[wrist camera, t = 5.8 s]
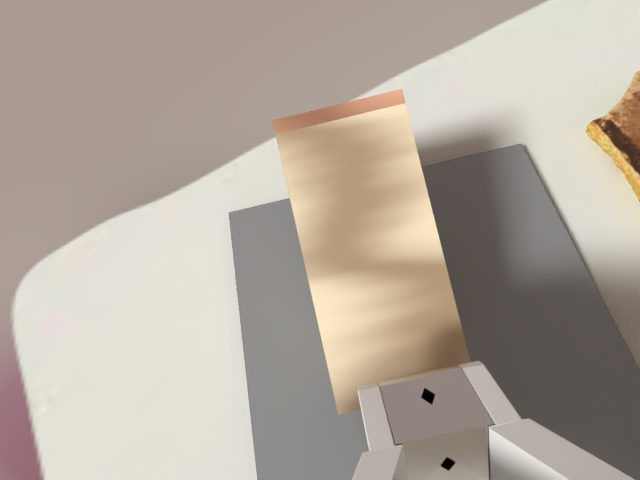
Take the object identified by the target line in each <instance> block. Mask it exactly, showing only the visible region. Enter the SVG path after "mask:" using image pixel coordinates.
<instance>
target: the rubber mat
mask: <svg viewBox="0 0 640 480" xmlns="http://www.w3.org/2000/svg"><path fill="white" fill-rule="evenodd" d="M422 171H423V175H424V179H425V183H426V187H427V191H428V195H429V199H430V203H431V207H432V211H433V215H434V219H435V223H436V227H437V231H438V235H439V239H440V243H441V247H442V251H443V255H444V259H445V263H446V267H447V271H448V275H449V279H450V283H451V287H452V291H453V295H454V299H455V303H456V307H457V311H458V315H459V319H460V323H461V327H462V330H463V334H464V338H465V342H466V346H467V350H468V354H469V358H470V362H475V361H480V362H482V363H483V364H484V365H485V367H486V368H487V370H488V371H489V373H490V374H491V375H492V377H493V378H494V380H495V381H496V383H497V384H498V385H499V387H500V388H501V390H502V391H503V393H504V394H505V396H506V397H507V398H508V400H509V401H510V403H511V404H512V406H513V407H514V408H515V410H516V411H517V413H518V414H519V416H520V417H521V419H528V418H530V419H531V420H533V421H535V422H537V423H538V424H540V425H542V426H543V427H545V428H547V429H549V430H550V431H552V432H554V433H555V434H557V435H559V436H561V437H562V438H564V439H566V440H568V441H569V442H571V443H573V444H574V445H576V446H578V447H580V448H581V449H583V450H585V451H587V452H588V453H590V454H592V455H593V456H595V457H597V458H599V459H600V460H602V461H604V462H605V463H607V464H609V465H611V466H612V467H614V468H616V469H618V470H619V471H621V472H623V473H624V474H626V475H628V476H630V477H631V478H633V479H635V480H640V371H639V369H638V367H637V365H636V363H635V361H634V359H633V357H632V355H631V353H630V351H629V349H628V348H627V346H626V344H625V342H624V340H623V338H622V336H621V334H620V332H619V330H618V328H617V326H616V324H615V323H614V321H613V319H612V317H611V315H610V313H609V311H608V309H607V307H606V305H605V303H604V301H603V300H602V298H601V296H600V294H599V292H598V290H597V288H596V286H595V284H594V282H593V280H592V278H591V276H590V275H589V273H588V271H587V269H586V267H585V265H584V263H583V261H582V259H581V257H580V255H579V253H578V251H577V250H576V248H575V246H574V244H573V242H572V240H571V238H570V236H569V234H568V232H567V230H566V228H565V226H564V225H563V223H562V221H561V219H560V217H559V215H558V213H557V211H556V209H555V207H554V205H553V203H552V202H551V200H550V198H549V196H548V194H547V192H546V190H545V188H544V186H543V184H542V182H541V180H540V178H539V177H538V175H537V173H536V171H535V169H534V167H533V165H532V163H531V161H530V159H529V157H528V155H527V153H526V152H525V150H524V148H523V146H522V144H517V145H513V146H509V147H505V148H501V149H496V150H492V151H488V152H484V153H479V154H475V155H471V156H467V157H462V158H458V159H454V160H450V161H445V162H441V163H437V164H433V165H428V166H424V167H422ZM229 220H230V229H231V238H232V248H233V257H234V266H235V276H236V285H237V294H238V303H239V313H240V322H241V331H242V341H243V350H244V359H245V368H246V378H247V387H248V396H249V406H250V415H251V424H252V433H253V443H254V452H255V461H256V471H257V480H352V478H353V475H354V473H355V470H356V468H357V465H358V463H359V460H360V458H361V455H362V453H363V452H367V451H369V448H368V443H367V438H366V432H365V427H364V422H363V417H362V412H361V410H360V411H355V412H350V413H345V414H341V415H338V411H337V407H336V402H335V398H334V393H333V389H332V384H331V380H330V375H329V371H328V366H327V362H326V357H325V353H324V348H323V344H322V340H321V335H320V331H319V326H318V322H317V317H316V313H315V308H314V304H313V299H312V295H311V290H310V286H309V281H308V277H307V273H306V268H305V264H304V259H303V255H302V250H301V246H300V241H299V237H298V232H297V228H296V223H295V219H294V214H293V210H292V206H291V201H290V198H289V199H284V200H280V201H276V202H272V203H267V204H263V205H259V206H255V207H250V208H246V209H242V210H238V211H233V212H229Z"/></svg>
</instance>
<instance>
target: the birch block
mask: <svg viewBox="0 0 640 480" xmlns="http://www.w3.org/2000/svg"><path fill="white" fill-rule="evenodd" d="M273 125H274V130H275V134H276V139H277V143H278V147H279V152H280V156H281V161H282V165H283V170H284V174H285V179H286V183H287V188H288V192H289V197H290V201H291V206H292V210H293V214H294V219H295V223H296V228H297V232H298V237H299V241H300V246H301V250H302V255H303V259H304V264H305V268H306V273H307V277H308V281H309V286H310V290H311V295H312V299H313V304H314V308H315V313H316V317H317V322H318V326H319V331H320V335H321V340H322V344H323V348H324V353H325V357H326V362H327V366H328V371H329V375H330V380H331V384H332V389H333V393H334V398H335V402H336V407H337V411H338V415H341V414H345V413H350V412H355V411H360V410H361V407H360V402H359V397H358V389H357V386H362V385H367V384H372V383H378V382H381V381H386V380H392V379H397V378H402V377H408V376H413V375H417V374H420V373H425V372H429V371H434V370H438V369H443V368H447V367H451V366H456V365H457V366H458V365H461V364H466V363H470V358H469V354H468V350H467V346H466V342H465V338H464V334H463V330H462V327H461V323H460V319H459V315H458V311H457V307H456V303H455V299H454V295H453V291H452V287H451V283H450V279H449V275H448V271H447V267H446V263H445V259H444V255H443V251H442V247H441V243H440V239H439V235H438V231H437V227H436V223H435V219H434V215H433V211H432V207H431V203H430V199H429V195H428V191H427V187H426V183H425V179H424V175H423V171H422V167H421V163H420V159H419V155H418V151H417V147H416V143H415V139H414V136H413V132H412V128H411V124H410V120H409V116H408V112H407V108H406V104H405V100H404V96H403V92H402V89H400V90H396V91H392V92H388V93H384V94H380V95H375V96H371V97H367V98H363V99H359V100H355V101H351V102H347V103H343V104H339V105H335V106H331V107H326V108H322V109H318V110H314V111H310V112H306V113H302V114H298V115H294V116H290V117H286V118H282V119H277V120H273Z"/></svg>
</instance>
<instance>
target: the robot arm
mask: <svg viewBox="0 0 640 480" xmlns="http://www.w3.org/2000/svg"><path fill="white" fill-rule="evenodd" d="M357 389H358V397H359V402H360V407H361V412H362V417H363V422H364V427H365V432H366V438H367V443H368V448H369V451H367V452H363V453H362V455H361V458H360V460H359V463H358V465H357V468H356V470H355V473H354V475H353V478H352V480H635V479H633V478H631V477H630V476H628V475H626V474H624V473H623V472H621V471H619V470H618V469H616V468H614V467H612V466H611V465H609V464H607V463H605V462H604V461H602V460H600V459H599V458H597V457H595V456H593V455H592V454H590V453H588V452H587V451H585V450H583V449H581V448H580V447H578V446H576V445H574V444H573V443H571V442H569V441H568V440H566V439H564V438H562V437H561V436H559V435H557V434H555V433H554V432H552V431H550V430H549V429H547V428H545V427H543V426H542V425H540V424H538V423H537V422H535V421H533V420H531V419H530V418H528V419H521V417H520V416H519V414H518V413H517V411H516V410H515V408H514V407H513V406H512V404H511V403H510V401H509V400H508V398H507V397H506V396H505V394H504V393H503V391H502V390H501V388H500V387H499V385H498V384H497V383H496V381H495V380H494V378H493V377H492V375H491V374H490V373H489V371H488V370H487V368H486V367H485V365H484V364H483V363H482V362H480V361H475V362H470V363H466V364H461V365H458V366H457V365H456V366H451V367H447V368H443V369H438V370H434V371H429V372H425V373H420V374H417V375H413V376H408V377H402V378H397V379H392V380H386V381H381V382H378V383H372V384H367V385H362V386H357Z"/></svg>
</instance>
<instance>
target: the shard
mask: <svg viewBox="0 0 640 480" xmlns="http://www.w3.org/2000/svg"><path fill="white" fill-rule="evenodd" d="M586 132H587V134H588V136H589V137H590V138H591V139H592V140H593V141H595V142H596V143H597V144H599V145H600V146H601V147H602V149H603V150H604V151H605V152H606V153H607V154H608V155H609V156H611V157H612V158H613V159H614V162H615V164H616V165H617V166H618V167H619V168H620V169H621V170H622V172H623V174H624V176H625V178H626V179H627V181H628V182H629V184H630V185H631V186H632V189H633V190H634V192H635V194H636V196H637V198H638V200H639V201H640V71H638V72H637V73H636V74H635V76H634V77H633V79H632V82H631V85H630V86H629V88H628V90H627V91H626V93H625V94H624V96H623V98H622V99H621V101H620V102H619V103H618V104H617V105H616V106H615V107H614V108H613V109H612V110H611V111H610V112H609V113H608V114H607V115H605V116H604V117H602V118H599V119H596V120H594V121H592V122H591V123H590V124H589V125H588V127H587V130H586Z"/></svg>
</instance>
